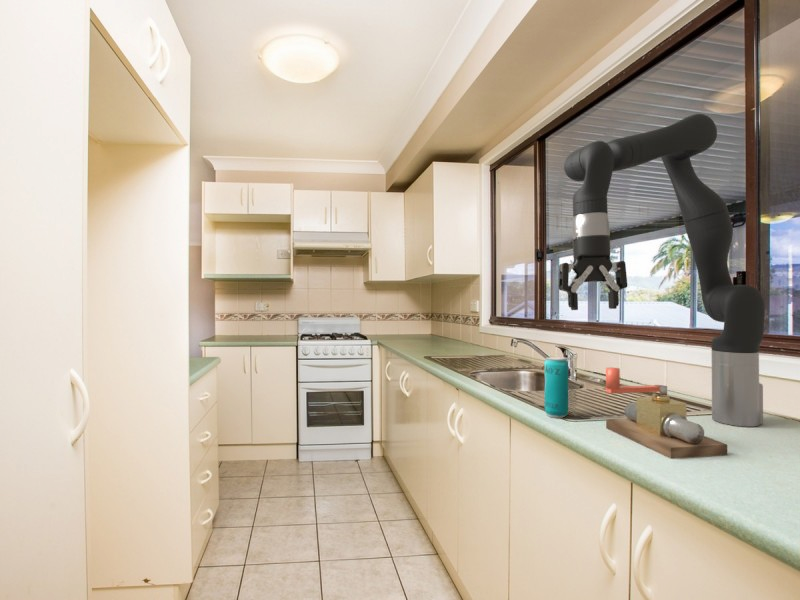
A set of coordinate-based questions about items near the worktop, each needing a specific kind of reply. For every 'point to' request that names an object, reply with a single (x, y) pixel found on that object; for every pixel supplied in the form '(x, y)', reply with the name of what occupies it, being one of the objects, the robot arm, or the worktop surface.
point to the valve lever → (615, 387)
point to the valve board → (665, 428)
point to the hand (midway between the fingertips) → (593, 309)
